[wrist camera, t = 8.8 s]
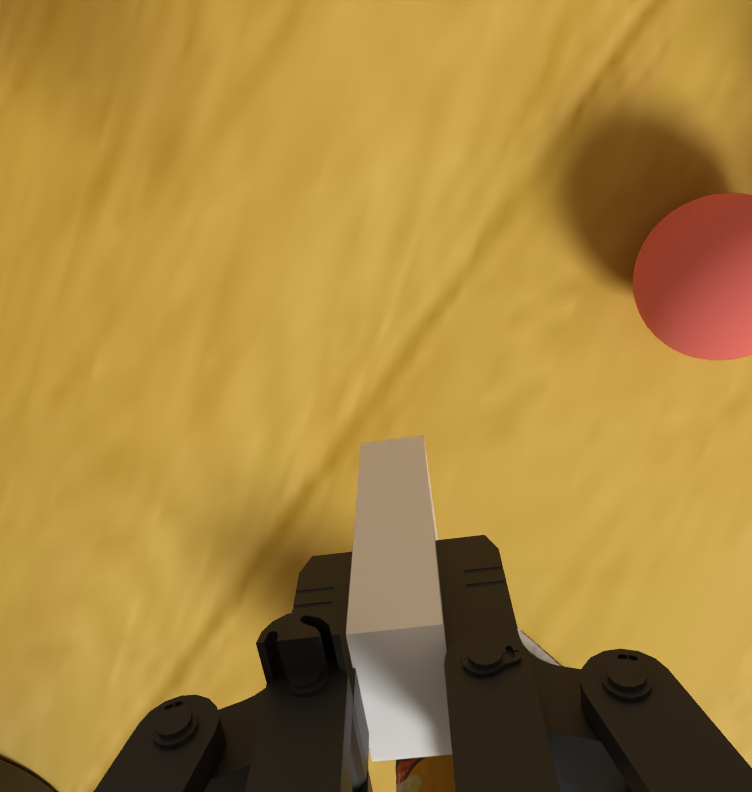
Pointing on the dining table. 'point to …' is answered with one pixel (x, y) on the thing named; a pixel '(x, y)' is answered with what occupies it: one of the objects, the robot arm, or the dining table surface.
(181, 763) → the robot arm
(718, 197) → the ball
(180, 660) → the dining table surface
